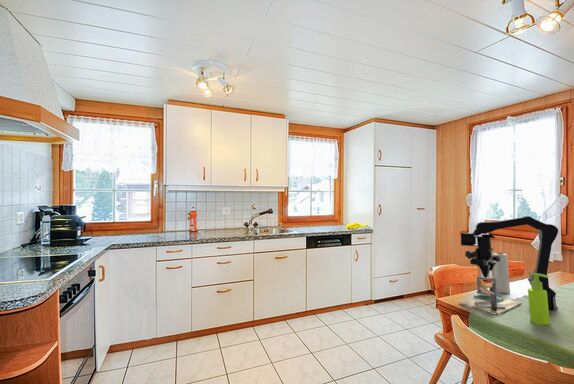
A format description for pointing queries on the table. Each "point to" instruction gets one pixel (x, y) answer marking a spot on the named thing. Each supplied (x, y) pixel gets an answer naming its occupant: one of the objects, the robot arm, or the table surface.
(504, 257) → the paper towel roll
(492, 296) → the wooden crank handle
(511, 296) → the table surface
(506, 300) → the beige rectangular panel
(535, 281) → the soap dispenser
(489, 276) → the grey boxy piece
